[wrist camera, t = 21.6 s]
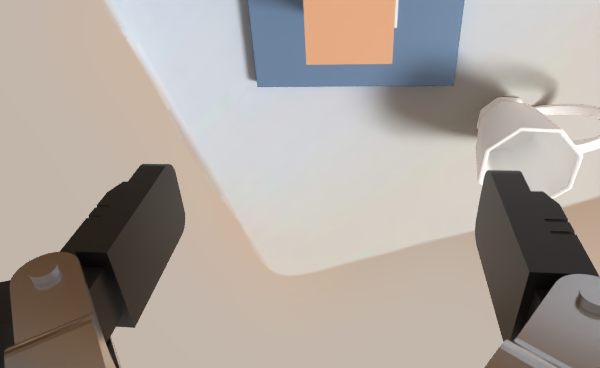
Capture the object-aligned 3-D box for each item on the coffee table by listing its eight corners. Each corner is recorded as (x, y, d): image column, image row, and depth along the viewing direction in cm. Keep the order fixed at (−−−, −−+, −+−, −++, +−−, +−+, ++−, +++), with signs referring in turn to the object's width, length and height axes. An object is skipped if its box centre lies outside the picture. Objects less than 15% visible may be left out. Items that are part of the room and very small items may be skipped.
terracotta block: (393, -45, 29) (397, -30, 25) (389, 37, 32) (392, 63, 28) (311, -42, 30) (301, -27, 25) (314, 39, 32) (306, 64, 28)
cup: (451, 96, 40) (467, 142, 33) (583, 55, 37) (630, 97, 30) (469, 164, 43) (487, 219, 36) (591, 132, 40) (635, 186, 33)
